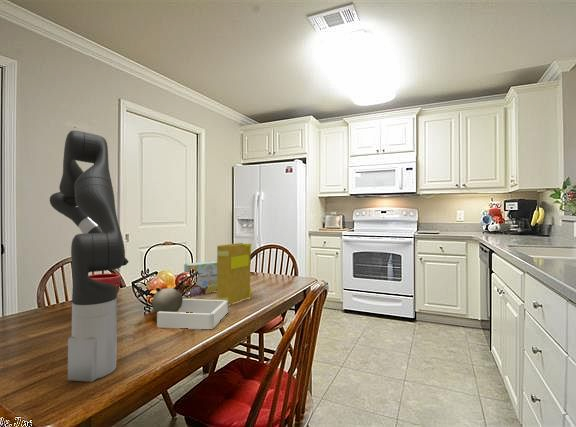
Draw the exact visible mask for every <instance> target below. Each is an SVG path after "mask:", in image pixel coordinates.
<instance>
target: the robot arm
mask: <svg viewBox="0 0 576 427" xmlns="http://www.w3.org/2000/svg"><path fill="white" fill-rule="evenodd" d="M64 143H65V144H64V151H63V161H62V176H61V180H60V183H59V191H57V192H55V193H52V194H51V195H50V196H49V203H50V206H51V207H52V208H53V209H54V210H55V211H57V213H58V212H59V213H60V214H62V215H64V216H65V217H66V218H68V219H70V221H72V222H73V223H74V224H75V225H76V226H77V227H78V229H79V230H80V232H81V233H77V234H75V235H74V236H73V238H72V241H71V246H70V254H71V255H70V257H71V272H72V273H71V274H72V275H71V277H72V293H71V337H69V338H68V339H67V381H75V382H91V383H92V382H94V381H95V380H98V379H101V378H103V377H106V376H108V375H111V373H113V372H114V371H115V370H116V368H117V355H118V354H117V351H118V350H117V347H118V346H117V345H118V343H117V336H118V335H117V334H118V325H117V324H118V321H117V320H118V299H117V298H118V294H117V287H116V286H115V285H112V284H108V283H103V282H99V281H96V280H94V279H92V278H90V277H89V273H94V272H95V273H96V272H104V271H114V270H117V269H118V270H119V269H120V268H122V267H125V266H126V265H127V264H128V263H129V260H128V258H126V249H125V244H124V239H123V234H122V231H121V228H120V227H121V226H120V224H119V221H118V216H117V209H116V203H115V202H116V201H115V194H114V187H113V183H112V179H111V172H110V166H109V149H108V148H109V147H108V142H107V140H106V138H105V137H103V136H102V135H98V134H94V133H90V132H87V131H86V132H85V131H81V130H70V131H69V132H68V133H67V135H66V139H65V141H64ZM77 161H78V162H82V163H89V164H93V165H91V166H90V167H89V168H87V169H86V170H84V171H83V169H82V167H80V165H79V164H78V162H77Z"/></svg>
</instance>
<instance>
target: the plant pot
mask: <svg viewBox="0 0 576 427" xmlns="http://www.w3.org/2000/svg"><path fill="white" fill-rule="evenodd" d="M88 276H89V277H90V278H92V279H94V280H96V281H99V282H103V283H108V284H112V285H115V286H116V287H117V295H118V293H119V290H120V286H121V282H122V281H121V280H122V275H121V274H120V273H119V274H118V273H96V274H88ZM117 300H119V299H118V297H117Z"/></svg>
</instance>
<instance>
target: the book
mask: <svg viewBox="0 0 576 427" xmlns="http://www.w3.org/2000/svg"><path fill="white" fill-rule="evenodd" d="M216 247H217V248H216V255H217V256H216V261H217V292H216V300H228V305H229V304H232V303H234V302H237V301H240V300H242V299H246V298H249V297H251V298H252V288H251V255H252V243H243V242H237V243H236V242H235V243H230V244H229V243H228V244H220V245H217V246H216Z"/></svg>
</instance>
